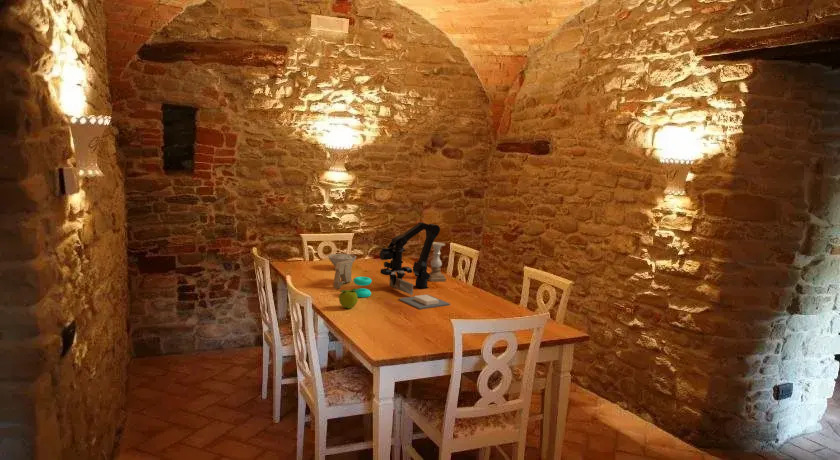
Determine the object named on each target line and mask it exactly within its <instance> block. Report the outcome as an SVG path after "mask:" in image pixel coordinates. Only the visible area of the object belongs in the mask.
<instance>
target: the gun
mask: <svg viewBox="0 0 840 460" xmlns="http://www.w3.org/2000/svg"><path fill="white" fill-rule="evenodd" d="M352 261H353V260H347V261H343V262H338V263H337V264H336V266H335V267H334V270H335V273H334V278H333V289H334V290H339V289H340V288H341V287H342V285H344V284H347V283H350V282H352V281H353V279H352V275H353V272H352V267H353V263H352Z"/></svg>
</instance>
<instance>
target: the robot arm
mask: <svg viewBox="0 0 840 460" xmlns="http://www.w3.org/2000/svg"><path fill="white" fill-rule="evenodd" d="M422 231H425V241H424V243H423V246H422V250H421V251H420V256H419V259H418V260H416V261H414V263H413V266H412V267H409V266H403V265H402V264H403V263H404V261H403V252H406V249H405V248H404V246H406V245H407V244H408V242H409V240H411V239H412V238H413V237H415V236H416V235H418V234H419V233H421V232H422ZM440 232H441V228H440V225H438V224H434V223H425V222H421V221H419V222H417V224H416V225H414V226H413V227H411V228H410V229H409V230H408V229H407V231H405V232H404V233H402V234H399V235H396V236H394V237H393V238H391V242H390V243H388V246H387V247H382V248H381V249H380V251H379V258H380V261H381V260H382V261H384V262H383V267H384V268H381V269H380V272H379V273H380V275H381V274H382V275H384V276H389V278H390V277H391V280H392V283H393V285H395V281H396V277H398V278H400V279H403V278H404V276H405V275H406V274H412V273H413V274H414V277H416V279H415V283H414V284H415V285H413V288H417V289H420V290H422V289H430V287H429V286H428V281H429V280H428V279H429V277H430V275H429V274H428V273H429V272H428V264H427V263H428V259H429V256H430V254H431V253H430V252H431V249H432V248H433V245H432V244H433V242H435V239H436V238H437V237H438V235H439V234H440ZM385 260H387V261H385ZM388 260H390V262H389V261H388Z"/></svg>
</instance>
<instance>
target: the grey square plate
mask: <svg viewBox="0 0 840 460" xmlns="http://www.w3.org/2000/svg"><path fill="white" fill-rule="evenodd" d="M427 295H428V296H431V297H433V298H436V299H438V300H439V304H432V305H425V304H423V303H420V302H418V301H416V300H414V296H410V297H409V296H407V297H401V298H398V300H399V301H400V302H402V303H405V304H406V305H409V306H411V307H414V308H416V309H418V310H424V309H431V308H432V309H433V308H439V307H440V308H441V307H446V306H451V303H450V302H447V301H446V300H442V299H440V298H438V297H435V296H433V295H430V294H427Z"/></svg>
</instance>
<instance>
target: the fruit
mask: <svg viewBox="0 0 840 460" xmlns="http://www.w3.org/2000/svg"><path fill="white" fill-rule="evenodd" d="M357 289H358V288H353V289H343V290H340V293H339V296H338V299H339V301H338V302H339V303H340V305H341V307H343V309H352V308H354V307H355V306H356V304H357V303H358V301H359V299H358V298H359V297H357V294H356V292H355V291H354V290H357Z"/></svg>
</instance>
